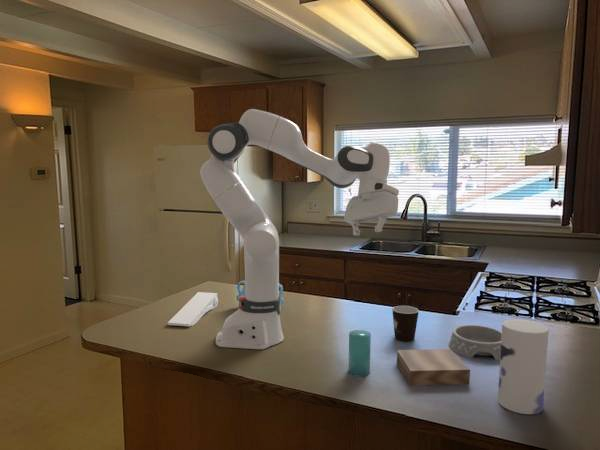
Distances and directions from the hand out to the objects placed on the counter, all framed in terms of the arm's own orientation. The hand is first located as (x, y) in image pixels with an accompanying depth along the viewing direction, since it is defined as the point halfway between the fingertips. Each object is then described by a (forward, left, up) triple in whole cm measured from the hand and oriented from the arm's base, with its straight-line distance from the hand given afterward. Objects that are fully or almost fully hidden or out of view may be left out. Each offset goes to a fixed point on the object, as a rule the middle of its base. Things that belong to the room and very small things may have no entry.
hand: (366, 233), depth 146 cm
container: (+31, -38, -37) cm, 61 cm away
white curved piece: (-60, +34, -37) cm, 78 cm away
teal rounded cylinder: (-5, -18, -37) cm, 41 cm away
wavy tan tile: (+15, -20, -37) cm, 44 cm away
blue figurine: (-35, +41, -37) cm, 65 cm away
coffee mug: (+15, +8, -37) cm, 41 cm away
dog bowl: (+36, -3, -37) cm, 52 cm away
